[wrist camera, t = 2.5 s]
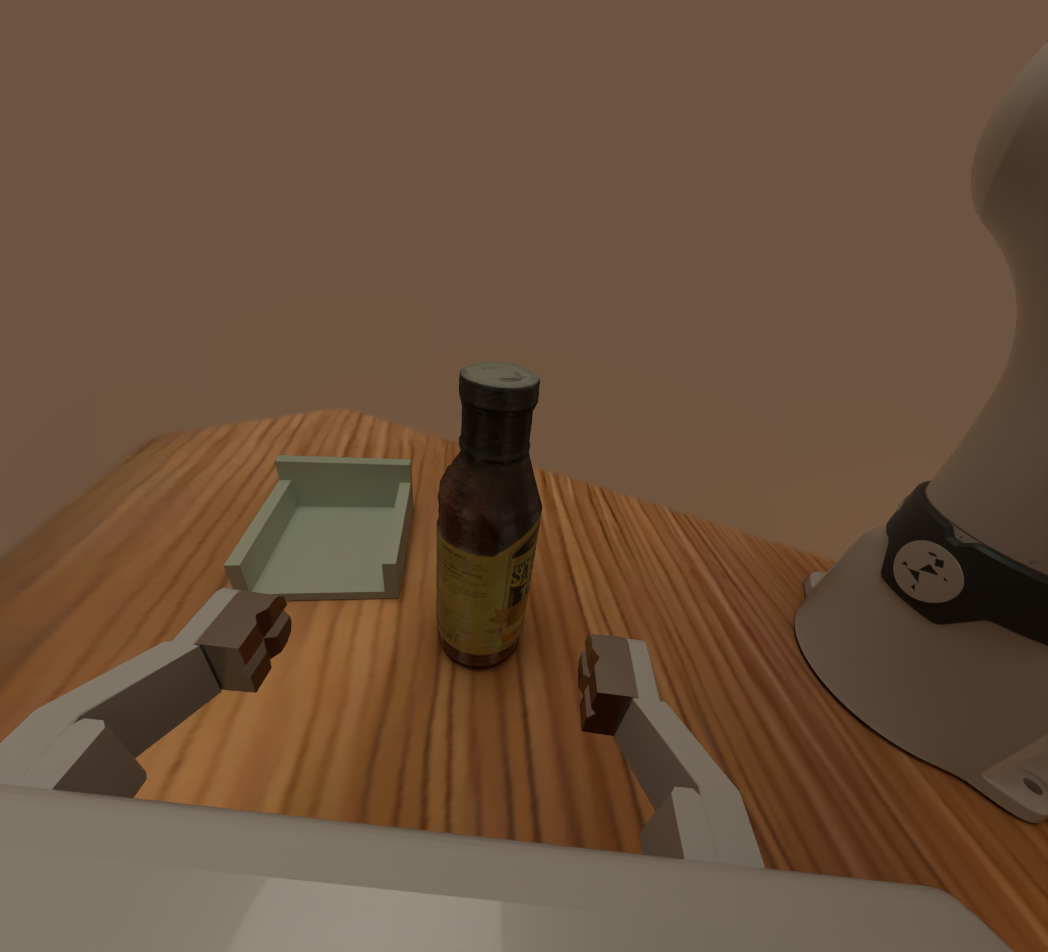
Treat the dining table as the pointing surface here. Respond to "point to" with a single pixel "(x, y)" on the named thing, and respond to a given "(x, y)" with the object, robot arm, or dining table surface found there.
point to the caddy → (328, 531)
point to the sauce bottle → (488, 516)
